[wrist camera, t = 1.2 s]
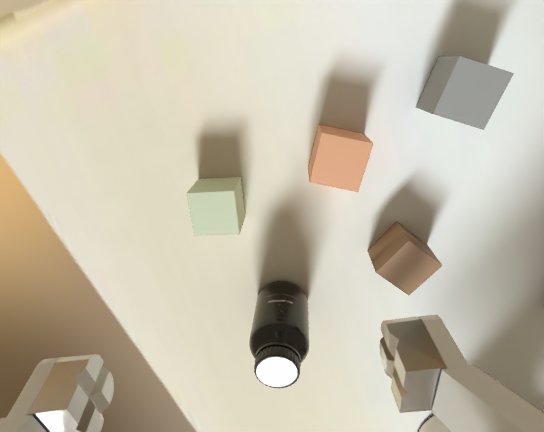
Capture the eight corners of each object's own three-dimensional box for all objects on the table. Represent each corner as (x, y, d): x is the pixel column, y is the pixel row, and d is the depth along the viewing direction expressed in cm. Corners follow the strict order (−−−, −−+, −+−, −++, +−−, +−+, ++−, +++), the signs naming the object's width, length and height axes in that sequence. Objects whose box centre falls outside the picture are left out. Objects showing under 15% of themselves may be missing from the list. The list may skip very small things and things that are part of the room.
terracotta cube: (363, 133, 38) (373, 143, 33) (350, 177, 40) (358, 192, 35) (318, 124, 38) (321, 132, 33) (307, 168, 40) (309, 182, 35)
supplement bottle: (288, 270, 45) (286, 336, 34) (317, 306, 47) (324, 379, 36) (246, 294, 47) (231, 365, 36) (276, 328, 49) (271, 404, 38)
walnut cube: (426, 243, 43) (442, 265, 38) (397, 271, 45) (408, 295, 40) (396, 221, 42) (408, 240, 37) (367, 250, 44) (375, 272, 39)
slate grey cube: (485, 71, 35) (513, 73, 30) (460, 121, 37) (483, 129, 32) (438, 56, 35) (459, 55, 30) (415, 107, 37) (432, 113, 32)
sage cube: (241, 176, 41) (234, 191, 36) (245, 216, 43) (239, 234, 38) (198, 178, 41) (186, 193, 37) (205, 217, 43) (194, 236, 39)
